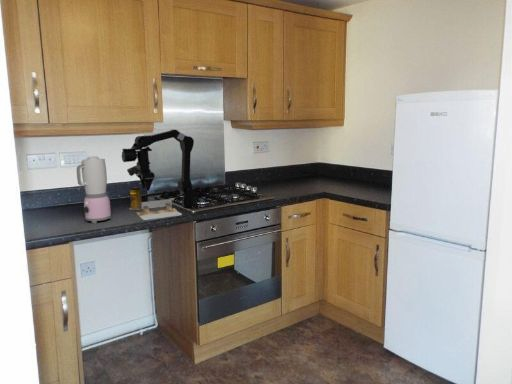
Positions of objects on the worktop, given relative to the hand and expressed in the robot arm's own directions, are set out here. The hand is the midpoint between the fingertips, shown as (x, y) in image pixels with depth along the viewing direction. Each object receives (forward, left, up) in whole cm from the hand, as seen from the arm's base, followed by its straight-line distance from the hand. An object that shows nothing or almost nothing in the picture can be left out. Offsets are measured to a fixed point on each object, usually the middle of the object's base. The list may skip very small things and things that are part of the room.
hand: (145, 189), depth 227 cm
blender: (+27, +3, -13) cm, 30 cm away
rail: (-4, +3, -9) cm, 11 cm away
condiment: (+2, -15, -13) cm, 20 cm away
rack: (-4, +3, -13) cm, 14 cm away
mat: (-4, +10, -13) cm, 17 cm away
